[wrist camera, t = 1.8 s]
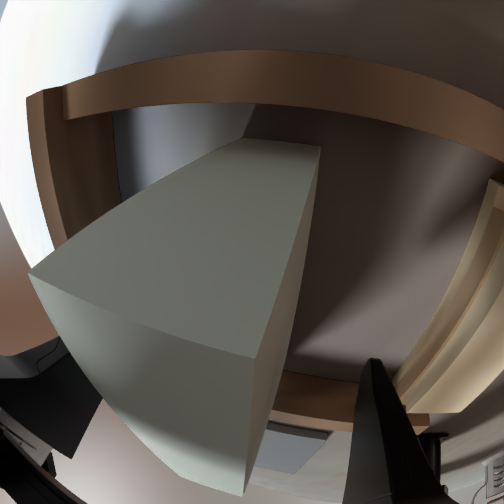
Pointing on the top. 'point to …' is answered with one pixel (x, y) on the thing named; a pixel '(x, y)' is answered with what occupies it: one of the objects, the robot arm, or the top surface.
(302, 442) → the mat
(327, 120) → the top surface
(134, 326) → the panel
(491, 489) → the french press
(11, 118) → the top surface
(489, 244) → the offcut stack
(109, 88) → the brown rectangular shallow frame
